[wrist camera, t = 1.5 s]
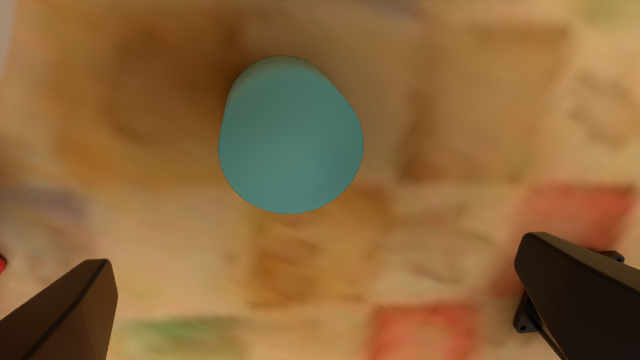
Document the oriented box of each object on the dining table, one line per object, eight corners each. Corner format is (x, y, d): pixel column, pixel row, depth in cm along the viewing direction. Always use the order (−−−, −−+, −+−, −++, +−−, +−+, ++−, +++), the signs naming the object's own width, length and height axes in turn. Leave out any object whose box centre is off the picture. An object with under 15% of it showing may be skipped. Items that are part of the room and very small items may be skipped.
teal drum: (335, 164, 21) (357, 211, 17) (229, 166, 21) (223, 217, 16) (342, 56, 19) (370, 78, 15) (222, 54, 18) (212, 77, 14)
